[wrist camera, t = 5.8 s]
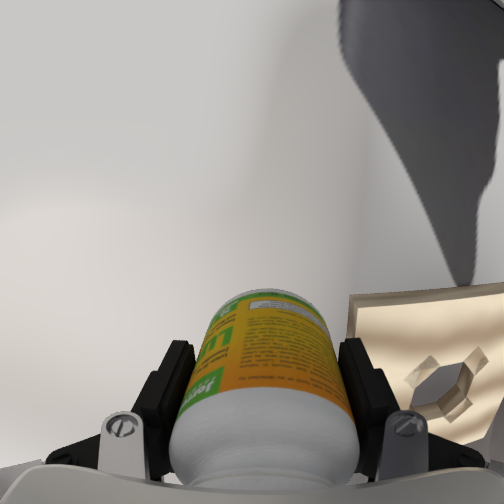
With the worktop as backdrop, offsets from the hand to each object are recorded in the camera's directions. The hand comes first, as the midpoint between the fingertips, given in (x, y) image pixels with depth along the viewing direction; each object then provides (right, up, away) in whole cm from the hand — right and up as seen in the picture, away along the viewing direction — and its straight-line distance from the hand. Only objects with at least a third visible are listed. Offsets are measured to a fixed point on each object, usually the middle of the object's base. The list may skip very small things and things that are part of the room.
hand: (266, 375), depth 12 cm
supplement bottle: (0, +1, +3) cm, 3 cm away
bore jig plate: (+18, -8, +15) cm, 25 cm away
